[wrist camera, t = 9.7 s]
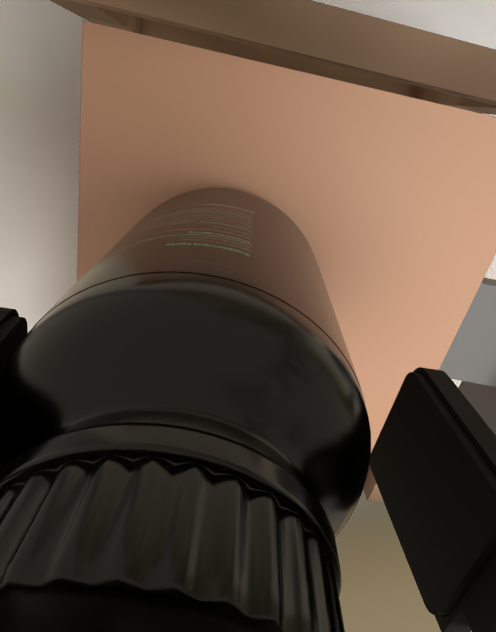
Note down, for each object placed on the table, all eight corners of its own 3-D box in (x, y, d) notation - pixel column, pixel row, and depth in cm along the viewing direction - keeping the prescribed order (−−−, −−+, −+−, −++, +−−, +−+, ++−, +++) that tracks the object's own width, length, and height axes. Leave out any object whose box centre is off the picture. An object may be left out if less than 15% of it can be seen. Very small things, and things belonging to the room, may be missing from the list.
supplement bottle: (310, 365, 17) (401, 842, 6) (136, 362, 17) (-83, 822, 6) (325, 184, 14) (567, 500, 3) (111, 183, 14) (-420, 476, 3)
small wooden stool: (104, -8, 19) (-19, -111, 9) (457, 81, 21) (658, 75, 12) (91, 333, 27) (17, 472, 17) (350, 369, 29) (415, 508, 19)
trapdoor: (113, 34, 14) (52, 6, 10) (688, 168, 16) (841, 192, 11) (96, 374, 20) (55, 444, 16) (507, 448, 22) (564, 529, 18)
